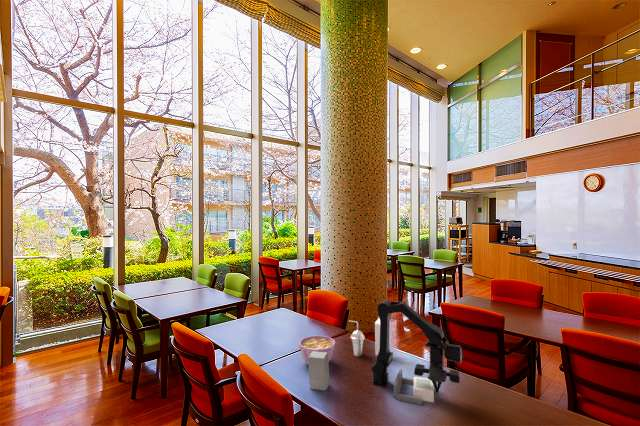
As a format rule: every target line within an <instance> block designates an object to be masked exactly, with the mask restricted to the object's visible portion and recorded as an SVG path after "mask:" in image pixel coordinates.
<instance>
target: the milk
mask: <svg viewBox="0 0 640 426" xmlns="http://www.w3.org/2000/svg"><path fill="white" fill-rule="evenodd" d="M390 331H391V329H390V326H389V350H390V351H391V341H390V340H391V339H390V338H391V336H390ZM374 340H375V341H374V342H375V345H374V346H375V347H374V349H375V351H374V353H375V356H378V353H379V350H380V319H379V316H378V315H377V320H376V321H375V322H374Z"/></svg>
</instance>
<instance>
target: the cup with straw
mask: <svg viewBox="0 0 640 426" xmlns="http://www.w3.org/2000/svg"><path fill="white" fill-rule="evenodd" d="M348 322H351V323H356V330H354V331H353V332H352V333H351V335H350V337H349V338H350V339H351V342H352V349H353V350H352V351H353V355H354V356H356V357H361V356H363V355H362V354H363V345H364V340H365V339H366V337H365V335H364V334H363V332H362V331H361V330H359V322H358V321H356V320H350V319H348Z"/></svg>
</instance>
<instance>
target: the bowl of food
mask: <svg viewBox="0 0 640 426" xmlns="http://www.w3.org/2000/svg"><path fill="white" fill-rule="evenodd" d="M335 345H336V341H335V339H334V338H332V337H330V336H326V335H310V336H306V337H303V338H302V339H300V340H299V348H300V352H301V357H302V359H303V361H304V362H305V363H306V364H308V356H309V355H310V354H311V353H312V351H316V352H327V353H328V363H329V362H330V361H332V357H333V354H334V352H335V347H336V346H335Z"/></svg>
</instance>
